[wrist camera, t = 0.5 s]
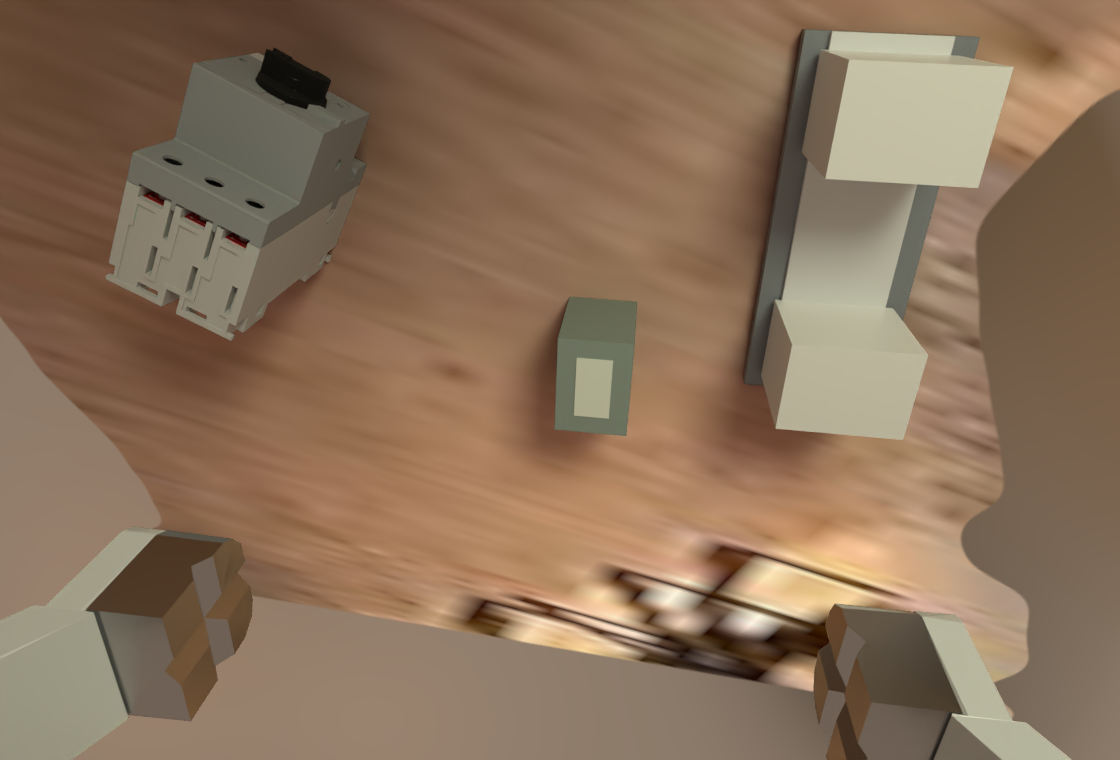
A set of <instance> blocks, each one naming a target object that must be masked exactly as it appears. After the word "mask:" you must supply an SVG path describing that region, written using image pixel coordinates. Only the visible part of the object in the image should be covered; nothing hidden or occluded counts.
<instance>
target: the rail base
mask: <svg viewBox="0 0 1120 760" xmlns="http://www.w3.org/2000/svg"><path fill="white" fill-rule="evenodd" d="M979 38H980V37H974V36H952V35H929V34H905V33H882V32H859V31H835V30H812V29H802V35H801V40H800V46H799V52H798V58H797V64H796V70H795V76H794V82H793V88H792V93H791V99H790V105H789V111H788V117H787V123H786V129H785V135H784V141H783V147H782V152H781V158H780V164H779V170H778V176H777V182H776V188H775V194H774V200H773V205H772V211H771V217H770V223H769V229H768V235H767V241H766V247H765V253H764V258H763V264H762V270H761V276H760V282H759V288H758V294H757V300H756V306H755V311H754V317H753V323H752V329H751V335H750V341H749V347H748V353H747V359H746V364H745V370H744V376H743V379H744V384H750V385H763V386H764V389H765V392H766V396H767V400H768V403H769V407H770V411H771V414H772V418H773V422H774V425H775V429H785V430H796V431H808V432H819V433H831V434H842V435H853V436H865V437H876V438H888V439H899V440H903V438H904V435H905V432H906V428H907V425H908V421H909V418H910V415H911V411H912V408H913V405H914V401H915V398H916V395H917V391H918V388H919V384H920V381H921V378H922V374H923V371H924V368H925V364H926V361H927V357H928V354H927V353H926V352H925V350H924V349H923V348H922V346H921V345H920V344H919V342H918V341H917V340H916V338H915V337H914V336H913V334H912V333H911V332H910V330H909V329H908V328H907V326H906V325H905V324H904V322H903V317H904V314H905V310H906V306H907V303H908V299H909V295H910V292H911V288H912V284H913V281H914V277H915V273H916V270H917V266H918V262H919V259H920V255H921V251H922V248H923V244H924V240H925V237H926V233H927V229H928V226H929V222H930V218H931V215H932V211H933V207H934V204H935V200H936V196H937V192H938V189H939V186H953V187H970V188H978V186H979V182H980V179H981V176H982V172H983V169H984V166H985V162H986V159H987V155H988V152H989V149H990V145H991V142H992V139H993V135H994V132H995V128H996V125H997V122H998V118H999V115H1000V112H1001V108H1002V105H1003V102H1004V98H1005V95H1006V91H1007V88H1008V85H1009V81H1010V78H1011V75H1012V71H1013V68H1014V67H1010V66H1006V65H1001V64H996V63H992V62H987V61H982V60H978V59H974V57H975V53H976V49H977V46H978V42H979Z"/></svg>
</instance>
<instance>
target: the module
mask: <svg viewBox="0 0 1120 760" xmlns="http://www.w3.org/2000/svg"><path fill="white" fill-rule="evenodd" d="M636 313H637V302H633V301H620V300H607V299H593V298H580V297H569V301H568V304H567V308H566V311H565V315H564V318H563V322H562V325H561V329H560V332H559V336H558V348H557V375H556V403H555V430H565V431H576V432H587V433H598V434H609V435H621V436H626V434H627V423H628V411H629V400H630V389H631V378H632V367H633V356H634V345H635V329H636Z"/></svg>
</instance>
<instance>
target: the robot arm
mask: <svg viewBox="0 0 1120 760" xmlns="http://www.w3.org/2000/svg"><path fill="white" fill-rule="evenodd" d="M244 563H245V559H244V555H243V551H242V547H241V543H239V542H237V541H235V540H234V539H230V538H222V537H215V536H207V535H200V534H192V533H185V532H177V531H170V530H167V531H163V530H156V529H149V528H141V527H132V528H129V529H126V530H123V531H122V532H121V533H119V535H118V536H116V538H114V539H113V540H112V541H111V542H110V543H109V544H108V545H107V546H106V547H105V548H104V549H103V550H102V551H101V552H100V553H99V554H98V555H97V556H96V557H95V558H94V559H93V560H92V561H91V562H90V563H89V564H88V565H87V566H86V567H85V568H84V569H83V570H81V571H80V572H79V573H78V574H77V575H76V576H75V577H74V578H73V579H72V580H71V581H70V582H69V583H68V584H67V585H66V586H65V587H64V588H63V589H62V590H61V591H60V592H59V593H58V594H57V595H56V596H55V597H54V598H53V599H52V600H51V601H50V602H49V603H48V604H47V605H46V606H36V605H33V606H31V607H29V608H26V609H24V610H22V611H20V612H17V613H15V614H13V615H11V616H8V617H6V618H4V619H2V620H0V760H72V759H74V758H75V757H76V756H78V755H79V754H80V753H82V752H83V751H85V750H86V749H87V748H89V747H90V746H91V745H93V744H94V743H95V742H97V741H98V740H100V739H101V738H103V737H104V736H105V735H107V734H108V733H110V732H111V731H112V730H113V729H115V728H116V727H118V726H119V725H121V724H122V723H123V722H125V721H126V720H128V718H129V717H128V715H134V716H144V717H154V718H164V719H174V720H184V721H191V720H192V719H193V717H194V715H195V714H196V712H197V711H198V709H199V708H200V706H201V705H202V703H203V702H204V700H205V699H206V697H207V695H208V694H209V693H210V691H211V689H212V688H213V687H214V685H215V683H216V682H217V680H218V679H217V673H216V665H217V664H219V663H221V662H222V661H224V660H225V659H227V658H229V657H230V656H232V655H234V654H235V653H236V651H237V649H238V648H239V646H240V644H241V643H242V641H243V640H244V638H245V636H246V633H247V630H248V627H249V623H250V620H251V617H252V602H253V599H252V594H251V588H250V586H249V585H248V584H247V583H246V581H245V580H244V579H243V578H242V577H241V576H240V575H239V574H238V573H237V572H238V571H239V570H240V568H241V567H242V565H243V564H244ZM826 629H827V633H828V637H829V641H830V643H829V644H827V645H826V646H825V647H823V648H822V649H821V650H819V652H818V657H817V661H816V666H815V670H814V690H813V691H814V700H815V709H816V713H817V718H818V723H819V725H820V727H821V728H822V729H823V730H824V731H825V732H826V733H827V734H828V735H829V736H830V737H831V740H830V744H829V747H828V751H827V754H826V758H827V760H1071V759H1070V758H1069V757H1068V756H1066V755H1065V754H1064V753H1063V752H1061V751H1060V750H1059V749H1057V747H1055V746H1054V745H1053V744H1052V743H1050V742H1049V741H1048V740H1047V739H1045V738H1044V737H1043V736H1042V735H1040V734H1039V733H1038V732H1037V731H1036V730H1034V729H1033V728H1032V727H1031V726H1029V725H1028V724H1027V723H1024V722H1016V721H1013V720H1012V718H1011V716H1010V714H1009V712H1008V710H1007V708H1006V706H1005V704H1004V702H1003V700H1002V698H1001V696H1000V694H999V692H998V690H997V688H996V686H995V684H994V682H993V681H992V679H991V677H990V675H989V673H988V671H987V669H986V667H985V665H984V663H983V661H982V659H981V657H980V655H979V653H978V651H977V649H976V647H975V645H974V643H973V641H972V639H971V637H970V635H969V634H968V632H967V630H966V628H965V626H964V624H963V622H962V620H961V619H959V618H958V617H957V616H956V615H953V614H942V613H931V612H920V611H914V612H911V611H903V610H893V609H883V608H873V607H863V606H853V605H843V604H834V606H833V607H832V609H831V610H830V612H829V616H828V619H827V623H826Z"/></svg>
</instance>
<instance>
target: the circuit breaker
mask: <svg viewBox="0 0 1120 760" xmlns="http://www.w3.org/2000/svg"><path fill="white" fill-rule="evenodd" d="M330 82H331V80H330V79H329V78H328V77H326V76H324V75H323V74H321V73H319V72H317V71H312V70H311V69H309V68H307V67H305V66H303V65H302V64H300V63H298V62H296V61H294V60H293V59H292V57H290V56H288V55H286V54H285V53H283V52H281V51H279V50H277V49H275V48H274V49H273V51H271V50H268V49H266V52H265V56H264V55H262V54H260V53H254V54H248V55H241V56H235V57H228V58H222V59H215V60H208V61H202V62H201V63H194V64H193V66H192V70H191V74H190V78H189V82H188V86H187V90H186V94H185V98H184V103H183V107H182V111H181V115H180V119H179V123H178V127H177V131H176V135H175V138H174V139H172V140H169V141H166V142H163V143H159V144H156V145H153V146H150V147H147V148H143V149H140V150H137V151H134V152H133V154H132V158H131V163H130V167H129V172H128V176H127V181H126V186H125V190H124V195H123V199H122V204H121V209H120V213H119V218H118V222H117V227H116V232H115V236H114V241H113V245H112V250H111V255H110V259H109V263H110V264H112V265H114V266H115V270H114V274H111V273H110V274H107V275H106V278H105V279H107V280H109V281H111V282H113V283H115V284H117V285H119V286H121V287H123V288H125V289H127V290H129V291H131V292H133V293H135V294H137V295H139V296H141V297H143V298H145V299H147V300H149V301H151V302H153V303H155V304H157V305H159V306H161V307H162V306H164V305H166V304H168V303H170V302H172V301H174V300H176V299H179V303H178V307H177V310H176V314H177V315H179V316H182V317H184V318H186V319H188V320H190V321H192V322H194V323H196V324H198V325H200V326H202V327H204V328H206V329H208V330H210V331H212V332H214V333H216V334H218V335H220V336H222V337H224V338H226V339H228V340H230V341H231V340H232V339H234V336H235V335H234V334H232V332H234V331H235V330H239V331H241V332H244V331H246V330H247V329H249V328H250V327H251V326H252V325H253V324H255V323H256V322H257V321H258V320H259V319H261V318H262V317H263V316H264V313H265V311H266V308H267V305H268V304H269V303H270V302H271V301H272V300H274V299H275V298H276V297H277V296H278V295H280V294H281V293H282V292H283V291H285V290H286V289H287V288H288V287H290V286H291V285H292V284H293V283H295V282H296V281H297V280H298V279H300V280H302V281H304V282H305V281H306V280H308V279H309V278H310V277H311V276H313V275H314V274H315V273H316V272H317V271H319V270H320V269H321V268H322V266H323V264H324V261H326V262H329V261H330V260H331V257H332V256H331V255H329V254H327V253H328V252H329V251H330V250H331V249H333V248H334V247H335V246H336V244H337V242H338V239H339V236H340V234H341V231H342V228H343V226H344V223H345V221H346V218H347V215H348V213H349V210H350V207H351V205H352V202H353V200H354V197H355V194H356V192H357V189H358V186H359V184H360V181H361V179H362V176H363V173H364V171H365V168H366V165H367V164H365V163H363V162H361V161H360V160H358V159H356V158H354V157H355V154H356V152H357V149H358V146H359V143H360V141H361V138H362V135H363V133H364V130H365V127H366V125H367V122H368V119H369V116H370V113H368V112H366V111H364V110H362V109H360V108H359V107H357V106H355V105H353V104H351V103H349V102H348V101H346V100H344V99H342V98H340V97H339V96H337V95H335V94H333V93H331V92H329V91H328V88H329V85H330ZM148 288H152V289H154V290H156V291H158V295H156V294H154V293H152V292H150V291H148V290H146V289H148ZM196 311H198V312H200V313H202V314H204V315H206V316H207V318H206V319H204V318H202V317H200V316H198V315H196V314H194V313H195V312H196Z"/></svg>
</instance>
